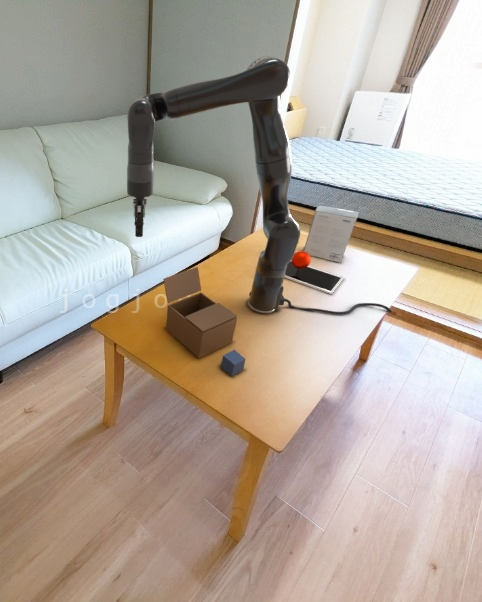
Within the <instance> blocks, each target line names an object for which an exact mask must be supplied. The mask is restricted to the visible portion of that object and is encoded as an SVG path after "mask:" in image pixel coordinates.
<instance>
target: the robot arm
mask: <svg viewBox="0 0 482 602" xmlns="http://www.w3.org/2000/svg"><path fill="white" fill-rule="evenodd" d="M290 79H291V72H290V67H289V66H288V65H287V63H286V62H285V61H284V60H283V59H281V58H279V57H276V56H267V55H266V56H259V57H257V58H254V60H253V61H251V62H250V64H249V65H248V67H246V70H244V71H242V72H238V73H236V74H233V75H230V76H226V77H221V78H216V79H209V80H203V81H197V82H193V83H188V84H185V85H181V86H177V87H175V88H174V87H173V88H170V89H168V90H165V91H160V92H154V93H149V94H143V95H141V96H137V97H135V98H133V99H132V100H131V102H130V103H129V105H128V106H127V108H128V109H127V134H128V142H127V167H126V193H127V195H128V196H129V197H132V199H133V201H132V209H133V218H134V223H133V224H134V227H135V228H134V229H135V230H134V231H135V232H134V233H135V235H134V236H135V237H136V238H143V236H144V225H145V222H144V219H145V218H146V209H147V202H148V201H147V198H149V197H151V196H152V195H153V193H154V175H155V171H154V170H155V169H154V168H155V167H154V136H155V125H156V122H161V121H165V120H169V121H173V120H178V119H183V118H187V117H190V116H194V115H198V114H201V113H205V112H208V111H212V110H215V109H219V108H223V107H227V106H228V107H229V106H232V105H238V104H245V103H248V108H249V113H250V117H251V125H252V140H253V141H252V142H253V151H254V160H255V161H254V162H255V170H256V176H257V182H258V188H259V192H260V197H261V202H262V203H261V204H262V230H263V234H264V235H265V238H266V239H267V242H266V245H265V249H264V250H262V251H261V252H260V253H259V255H258V258H257V259H258V260H257V264H256V267H255V273H254V276H253V281H252V285H251V289H250V292H249V295H248V296H249V298H248V301H247V306H248V307H249V309H250V310H252V311H253V312H255V313H258V314H262V315H263V314H264V315H266V314H267V315H268V314H272V313H274V312H278V310H279V307H280V306H284V305H285V302H286V303H287V305H288V307H289V308H291V309H294V310H299V311H305V312H320V313H324V314H330V315H347V314H350V313H351V312H353V311H354V310H355V309H356V308H358V307H367V306H368V307H369V306H371V307H379V308H382V309H385V310H386V311H387V312H388V313H393V311H392V309H391V308H389V307H388V306H386V305H385V304H381V303H376V302H361V303H356V304H354V305H353V306H352V307H351V308H350V309H348V310H344V311H335V310H334V311H333V310H327V309H321V308H316V307H315V308H314V307H311V308H310V307H297V306H295V305H292V302H291V300H289V299H287V298H285V296H284V295H283V293H284V290H285V288H284V286H283V284H284V280H285V278H284V277H285V274H286V270H287V267H288V264H289V262H290V261H291V260H292V258H293V256H294V254H295V253H296V250H297V247H298V245H299V241H300V237H301V227H300V225H299V224H298V222H297V221H296V220H295V219H294V218H293V217H292V213H291V211H290V206H289V200H288V191H289V187H290V182H291V178H292V172H293V171H292V170H293V164H292V163H293V161H292V151H291V145H290V144H291V143H290V140H289V137H288V133H287V131H286V128H285V124H284V122H283V119H282V115H281V110H280V109H281V108H280V96H281V95H282V94H283V93H284V92H285V91H286V89H287V87H288V86H289V84H290Z"/></svg>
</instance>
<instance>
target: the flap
mask: <svg viewBox="0 0 482 602" xmlns="http://www.w3.org/2000/svg"><path fill="white" fill-rule="evenodd" d="M162 280H163V286H164V291H165V297H166V302H167V304H171V303H174V302H176V301H179V300H182V299H184V298H187V297H189V296H192V295H195V294H197V293H200V292H201V291H202V287H201V285H202V284H201V278H200V272H199V267H198V266H196V267H193V268H191V269H187V270H185V271H182V272H178V273H175V274H173V275H171V276H167V277H165V278H163V279H162Z"/></svg>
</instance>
